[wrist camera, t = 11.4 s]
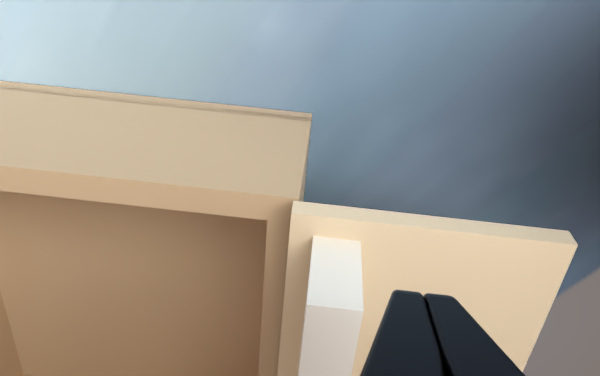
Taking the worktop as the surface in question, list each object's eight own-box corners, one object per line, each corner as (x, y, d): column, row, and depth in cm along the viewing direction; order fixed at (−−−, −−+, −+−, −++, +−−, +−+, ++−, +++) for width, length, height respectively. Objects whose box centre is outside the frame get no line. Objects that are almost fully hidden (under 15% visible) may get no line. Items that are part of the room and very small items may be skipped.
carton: (312, 113, 19) (298, 198, 13) (283, 401, 27) (268, 524, 22) (-64, 73, 19) (-217, 141, 14) (19, 369, 27) (-59, 482, 22)
